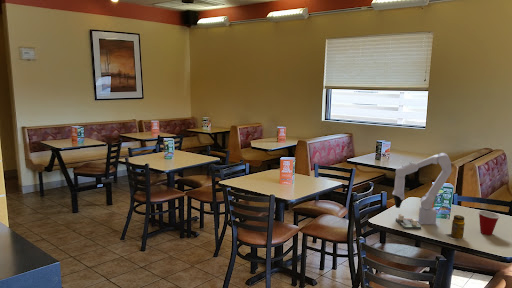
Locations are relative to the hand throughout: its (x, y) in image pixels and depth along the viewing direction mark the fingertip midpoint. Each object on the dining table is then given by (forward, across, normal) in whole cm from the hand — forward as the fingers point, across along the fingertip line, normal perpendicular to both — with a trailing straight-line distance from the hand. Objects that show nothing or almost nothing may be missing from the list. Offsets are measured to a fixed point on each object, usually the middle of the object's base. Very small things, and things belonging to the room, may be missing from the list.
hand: (397, 207), depth 246 cm
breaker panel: (+7, +11, +3) cm, 13 cm away
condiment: (+7, +28, +23) cm, 37 cm away
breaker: (+5, +15, +5) cm, 16 cm away
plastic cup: (+7, +22, +44) cm, 50 cm away
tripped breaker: (+5, +7, 0) cm, 9 cm away
